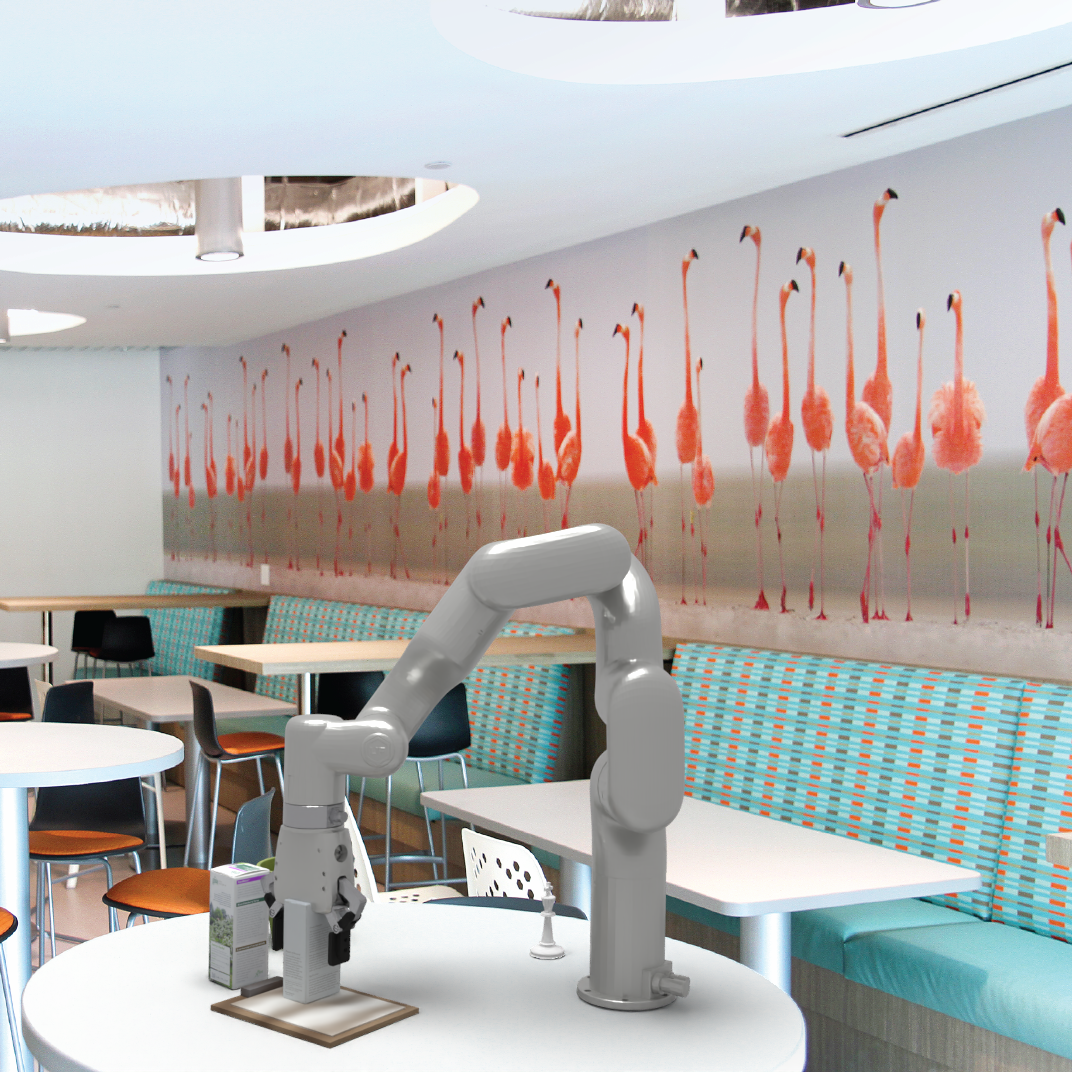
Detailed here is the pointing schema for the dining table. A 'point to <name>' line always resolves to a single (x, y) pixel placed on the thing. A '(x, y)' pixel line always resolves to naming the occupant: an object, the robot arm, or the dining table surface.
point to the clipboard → (314, 1012)
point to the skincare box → (307, 954)
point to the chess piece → (547, 930)
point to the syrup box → (238, 925)
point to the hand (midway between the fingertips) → (310, 955)
